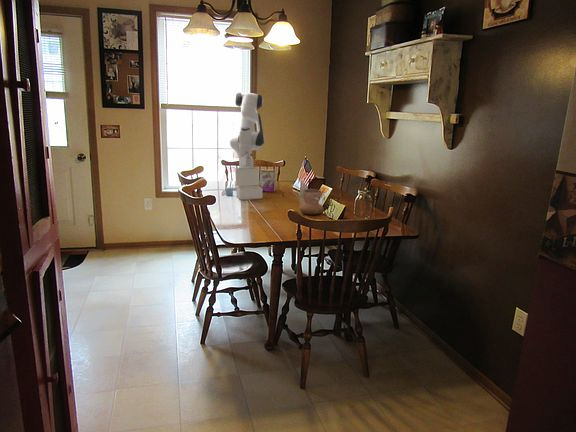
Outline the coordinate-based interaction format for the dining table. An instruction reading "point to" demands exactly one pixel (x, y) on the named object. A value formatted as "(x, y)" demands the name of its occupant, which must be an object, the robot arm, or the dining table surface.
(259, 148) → the robot arm
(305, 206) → the ceramic jug
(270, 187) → the candy bar box
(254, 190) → the carton
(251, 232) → the dining table surface
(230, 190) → the blue tapered cylinder
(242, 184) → the lid
